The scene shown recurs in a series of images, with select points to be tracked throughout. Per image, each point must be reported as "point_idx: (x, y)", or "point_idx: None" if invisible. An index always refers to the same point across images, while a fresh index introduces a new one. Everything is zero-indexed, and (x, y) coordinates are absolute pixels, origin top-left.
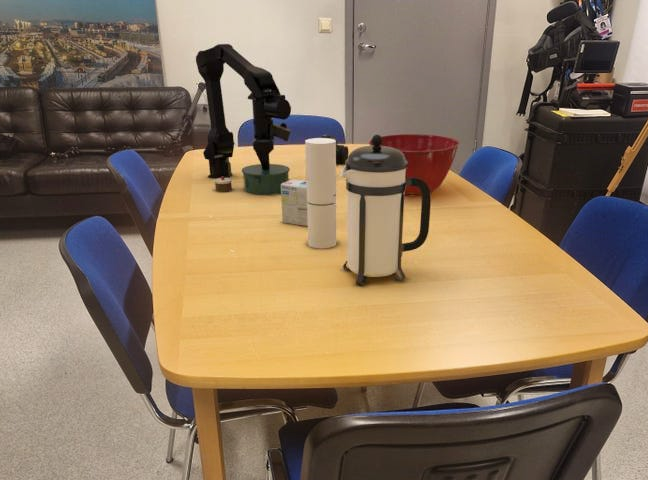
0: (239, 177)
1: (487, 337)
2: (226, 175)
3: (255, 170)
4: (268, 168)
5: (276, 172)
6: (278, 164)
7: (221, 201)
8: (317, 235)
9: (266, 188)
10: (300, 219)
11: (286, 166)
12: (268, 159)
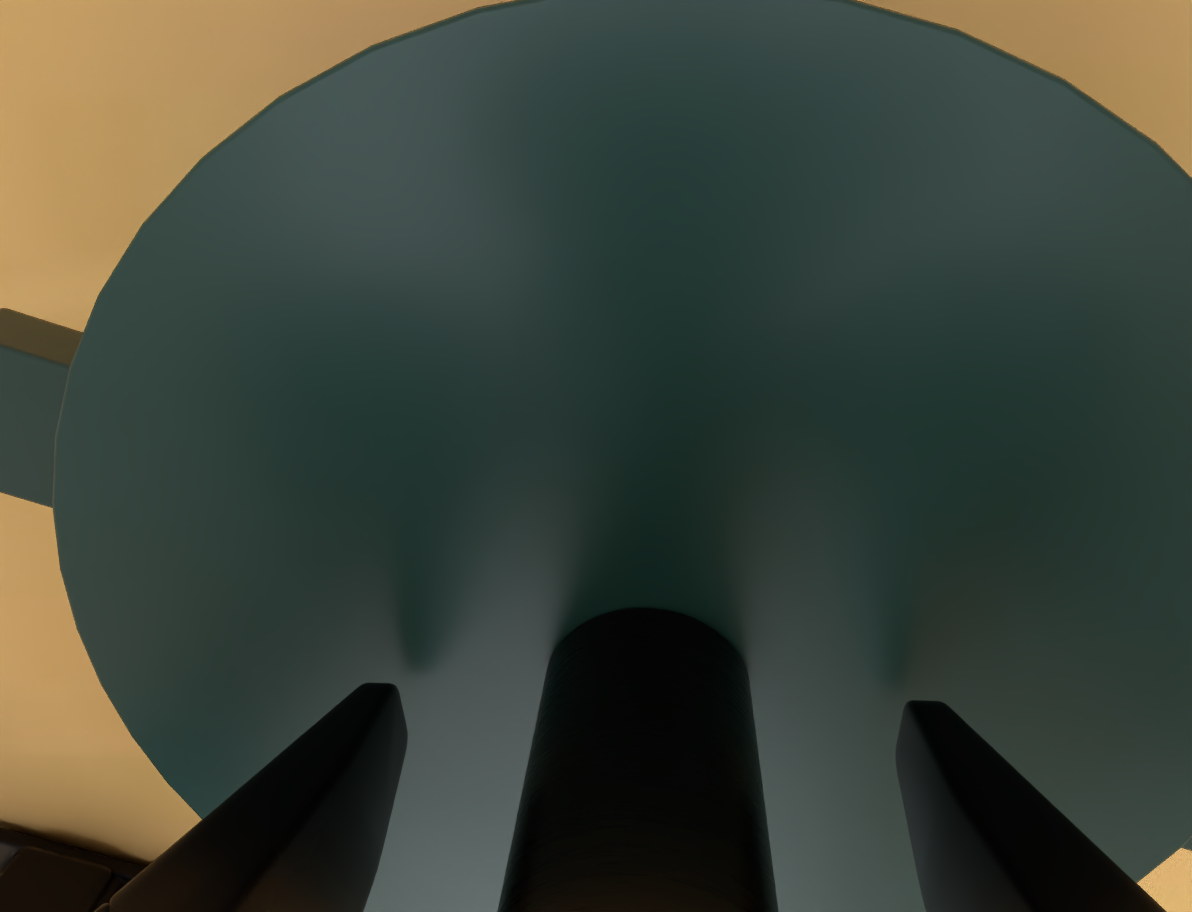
0: (72, 759)
1: None
2: (117, 885)
3: (772, 854)
4: (727, 653)
5: (1141, 444)
6: (73, 395)
7: (1173, 904)
8: None
9: None
10: None
11: (289, 130)
12: (715, 863)
